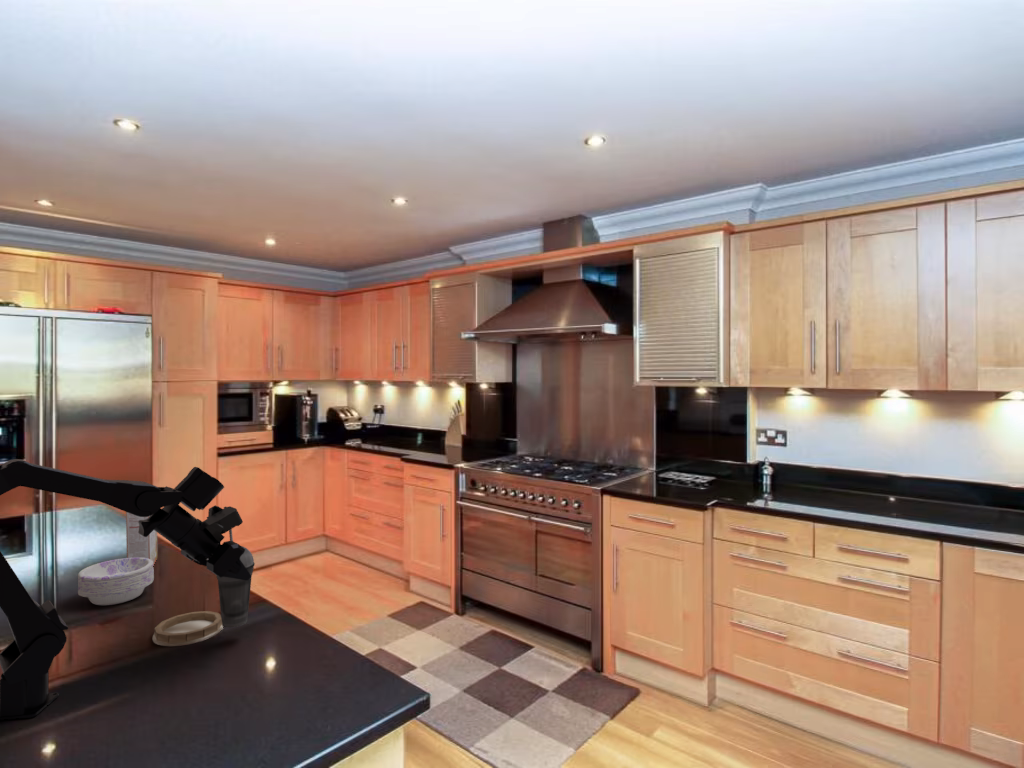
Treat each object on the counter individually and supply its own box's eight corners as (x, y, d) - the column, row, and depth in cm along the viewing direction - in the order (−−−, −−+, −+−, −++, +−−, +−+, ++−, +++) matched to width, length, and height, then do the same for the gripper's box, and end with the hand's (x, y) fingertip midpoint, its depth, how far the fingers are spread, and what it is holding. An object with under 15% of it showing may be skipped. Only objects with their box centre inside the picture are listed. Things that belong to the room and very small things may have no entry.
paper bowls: (75, 616, 128) (74, 581, 128) (80, 595, 141) (80, 563, 141) (154, 601, 136) (154, 568, 136) (153, 583, 149) (153, 553, 149)
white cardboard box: (134, 562, 167) (134, 491, 167) (158, 559, 169) (157, 489, 170) (124, 576, 154) (124, 500, 154) (150, 573, 157) (150, 498, 157)
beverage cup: (240, 631, 111) (241, 529, 111) (206, 629, 112) (206, 528, 112) (261, 617, 118) (262, 520, 118) (229, 615, 119) (229, 519, 119)
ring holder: (211, 643, 114) (211, 633, 114) (140, 648, 112) (140, 638, 112) (232, 617, 127) (232, 608, 127) (168, 621, 124) (168, 612, 124)
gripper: (234, 502, 106) (290, 549, 114) (198, 490, 118) (251, 533, 126) (187, 553, 100) (250, 599, 108) (154, 534, 113) (213, 577, 120)
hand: (241, 574), depth 116 cm, fingers closed on beverage cup, 7 cm apart
